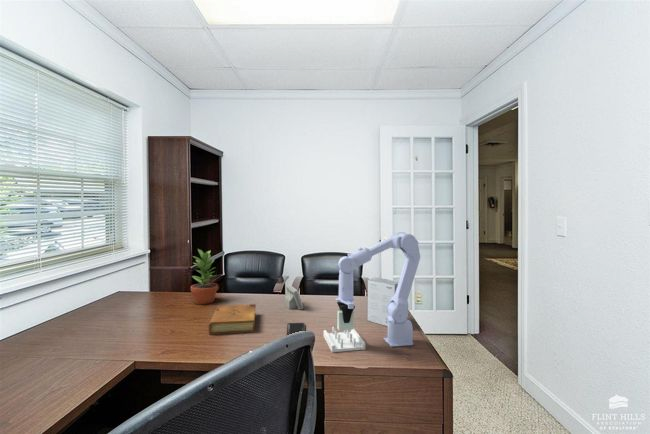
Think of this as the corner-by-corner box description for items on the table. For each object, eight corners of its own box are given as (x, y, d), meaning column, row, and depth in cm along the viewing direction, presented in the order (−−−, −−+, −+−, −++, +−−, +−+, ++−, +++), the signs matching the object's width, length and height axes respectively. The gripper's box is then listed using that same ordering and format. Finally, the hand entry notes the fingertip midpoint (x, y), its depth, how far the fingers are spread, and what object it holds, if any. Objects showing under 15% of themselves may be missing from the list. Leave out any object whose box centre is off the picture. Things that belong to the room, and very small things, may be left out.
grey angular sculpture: (303, 310, 172) (303, 290, 171) (286, 311, 170) (286, 291, 169) (299, 301, 187) (300, 283, 187) (284, 302, 186) (284, 283, 185)
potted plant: (214, 305, 179) (213, 250, 178) (186, 305, 179) (185, 250, 178) (222, 297, 194) (222, 246, 192) (197, 297, 194) (196, 246, 193)
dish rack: (353, 333, 141) (353, 324, 141) (365, 349, 126) (365, 339, 125) (323, 336, 138) (323, 326, 138) (332, 352, 123) (332, 341, 123)
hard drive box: (403, 324, 152) (404, 281, 151) (394, 329, 147) (395, 284, 146) (375, 316, 163) (376, 276, 162) (366, 320, 157) (366, 279, 156)
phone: (286, 335, 136) (287, 322, 151) (286, 338, 136) (287, 325, 151) (305, 335, 137) (304, 322, 152) (305, 338, 137) (304, 325, 152)
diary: (216, 317, 162) (216, 305, 161) (255, 315, 165) (255, 304, 165) (208, 335, 139) (208, 321, 139) (253, 332, 142) (253, 319, 142)
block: (351, 327, 132) (351, 309, 132) (353, 329, 130) (353, 311, 130) (337, 328, 131) (337, 310, 131) (338, 330, 129) (339, 312, 128)
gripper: (331, 283, 136) (331, 315, 137) (341, 292, 122) (340, 328, 122) (348, 282, 138) (347, 314, 138) (359, 291, 123) (358, 327, 124)
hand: (345, 321), depth 130 cm, fingers closed on block, 2 cm apart
